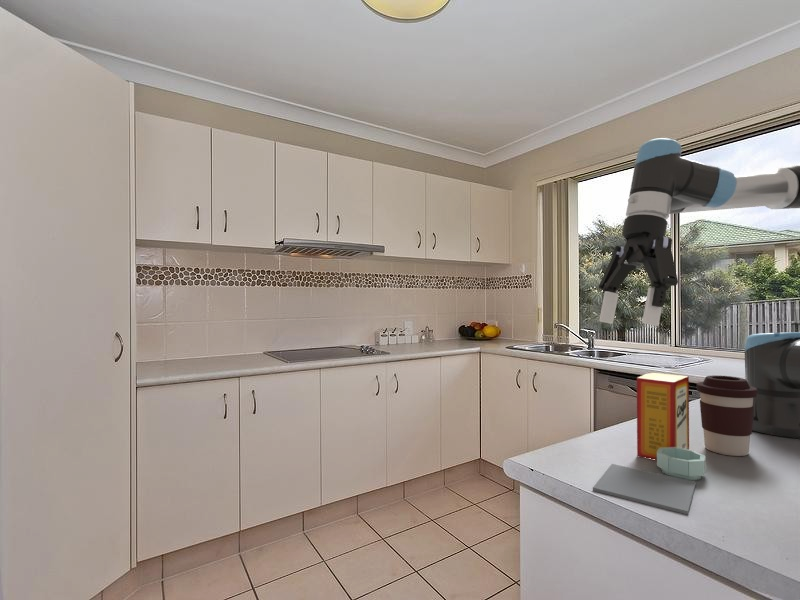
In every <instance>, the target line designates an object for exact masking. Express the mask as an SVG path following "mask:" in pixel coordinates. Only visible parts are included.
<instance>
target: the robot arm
mask: <svg viewBox="0 0 800 600" xmlns="http://www.w3.org/2000/svg"><path fill="white" fill-rule="evenodd" d="M681 155H682V145H681V144H680V143H679V142H678V141H677V140H675V139H672V138H665V137H664V138H663V137H661V138H654V139H650V140H648V141H646V142H644V143H643V144H641V145H640V147H639V149H638V152H637V154H636V157H635V163H634V165H633V166H634V167H633V168H634V169H633V174H632V179H631V185H630V190H629V196H628V199H627V202H628V203H627V207H626V213H625V216H626V218H624V221H623V226H622V232H621V235H622V237H623V238H625V241H626V242H625V244H624V246H620V245H616V246H615V247H614V250H613V253H612V255H611V259H610V261H609V262H608V265H607V267H606V270H605V271H604V274H603V276H602V278H601V279H600V282H599V284H598V289H599V290H602V291H603V297H602V303H601V310H600V315H599V320H598V322H601V323H606V324H610V325H613V324H614V321H615V314H616V310H617V309H616V308H617V304H618V299H619V294H620V293H619V289H620V287H622V284H623V283H624V281H625V280H626V279H627V277H628V276H629V274H630V272H631V271H632V270H634V269H636V268H637V267H639V266H641V265H643V267H644V270H645V272H646V274H647V276H648V279H649V281H650V284H648V285H649V287H648V290H647V295H646V299H645V304H644V310H643V316H642V322H641V324H645V325H650V326H654V327H659V325H660V320H661V315H662V310H663V309H662V308H663V307H664V304H665V298H666V294H667V291H668V290H669V289H670V287H672V286H673V287H676V286H677V285H678V283H679V280H678V274H677V271H676V270H677V269H676V265H675V262H674V256H673V251H672V245H673V239H672V238H671V237H668V236H666V233H667V227H668V221H667V220H669V217H670V215H673V214H675V215H676V214H680V213H681V214H682V213H696V212H707V211H709V212H710V211H718V210H721V211H722V210H735V209H743V208H744V209H745V208H756V207H765V208H768V209H771V210H781V209H782V210H785V209H800V163H799V164H796V165H792V166H787V167H777V168H774V169H772V170H770V171H768V172H767V173H758V174H756V173H755V174H747V175H746V174H744V175H735V174H734V173H733V172H732V171H729V170H726V169H724V168H721V167H720V166H714V165H710V164H706V163H704V162H699V161H696V160H691V159H688V158H687V157H682V156H681ZM744 370H745V371H744V372H745V375H744V379H746V380H747V382H748V384H749V386H752V387H755V388H756V389H757V396H756V397H754V398H753V406H754V413H753V425H752V432H756V433H757V432H758V433H762V434H766V435H772V436H778V437H783V438H784V437H786V438H797V439H798V438H799V439H800V331H796V332H795V331H792V332H791V331H789V332H788V331H787V332H765V333H754V334H752V333H751V334H750V335H748V336H747V337H746V339H745V348H744Z"/></svg>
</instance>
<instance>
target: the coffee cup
mask: <svg viewBox="0 0 800 600" xmlns="http://www.w3.org/2000/svg"><path fill="white" fill-rule="evenodd" d="M696 390H697V392H698V393H700V399H699V408H700V417H701V418H700V419H701V427H702V429H703V440H704V441H703V442H704V447H705V448H706V449H707V450H708V451H711V452H713V453H716V454H720V455H723V456H724V455H725V456H731V457H745V456H747V455H748V454H749V453H750V442H751V435H752V434H753V430H752V425H753V413H754V406H753V398H754V397H756V396H757V389H756V388H755V387H752V386H749V384H748V382H747V380H746V379H745V378H743V377H737V376H732V375H731V376H730V375H713V374H712V375H707V376H705V378H704V380H703V381H699V382H697V383H696Z"/></svg>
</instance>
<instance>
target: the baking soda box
mask: <svg viewBox="0 0 800 600" xmlns="http://www.w3.org/2000/svg"><path fill="white" fill-rule="evenodd" d="M689 380H690V378H689V375H679V374H669V373H662V372H649V373H645V374H643V375H640V376H637V377H636V441H637V442H636V450H637V451H636V452H637V453H636V454H637V455H636V456H637V457H638V456H641V457H640V458H642V457H646V458H651V459H655V460H657V451H658V449H659V448H661V447H677V448H683V449H688V450H690V395H689V393H690V391H689V390H690V385H689V383H690V382H689ZM646 458H645V459H646ZM651 459H650V460H651ZM655 460H654V461H655Z"/></svg>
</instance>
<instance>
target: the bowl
mask: <svg viewBox="0 0 800 600" xmlns="http://www.w3.org/2000/svg"><path fill="white" fill-rule="evenodd" d="M706 460H707V459H706V455H704V454H702V453H700V452H697V451H695V450H693V449H689V450H688V449H683V448H677V447H661V448H659V449H658V451H657V461H656V466H657V467H659V468H660V469H661V470H662V471H661V472H662V473H663V474H664V473H665V474H664V475H666V474H667V476H668V475H669V476H672V477H677V478H681V479H686V480H691V481H698V480H697V479H699V480H701V479H702V476H705V474H706V469H707V468H706V467H707V466H706V465H707V463H706ZM700 478H701V479H700Z"/></svg>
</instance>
